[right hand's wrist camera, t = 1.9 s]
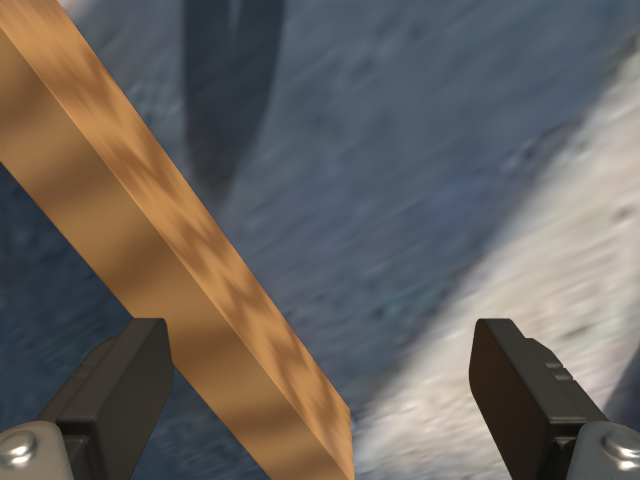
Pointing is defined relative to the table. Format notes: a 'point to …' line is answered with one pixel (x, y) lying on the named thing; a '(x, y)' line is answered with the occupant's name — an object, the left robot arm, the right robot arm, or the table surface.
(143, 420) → the right robot arm
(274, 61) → the table surface
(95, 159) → the post
